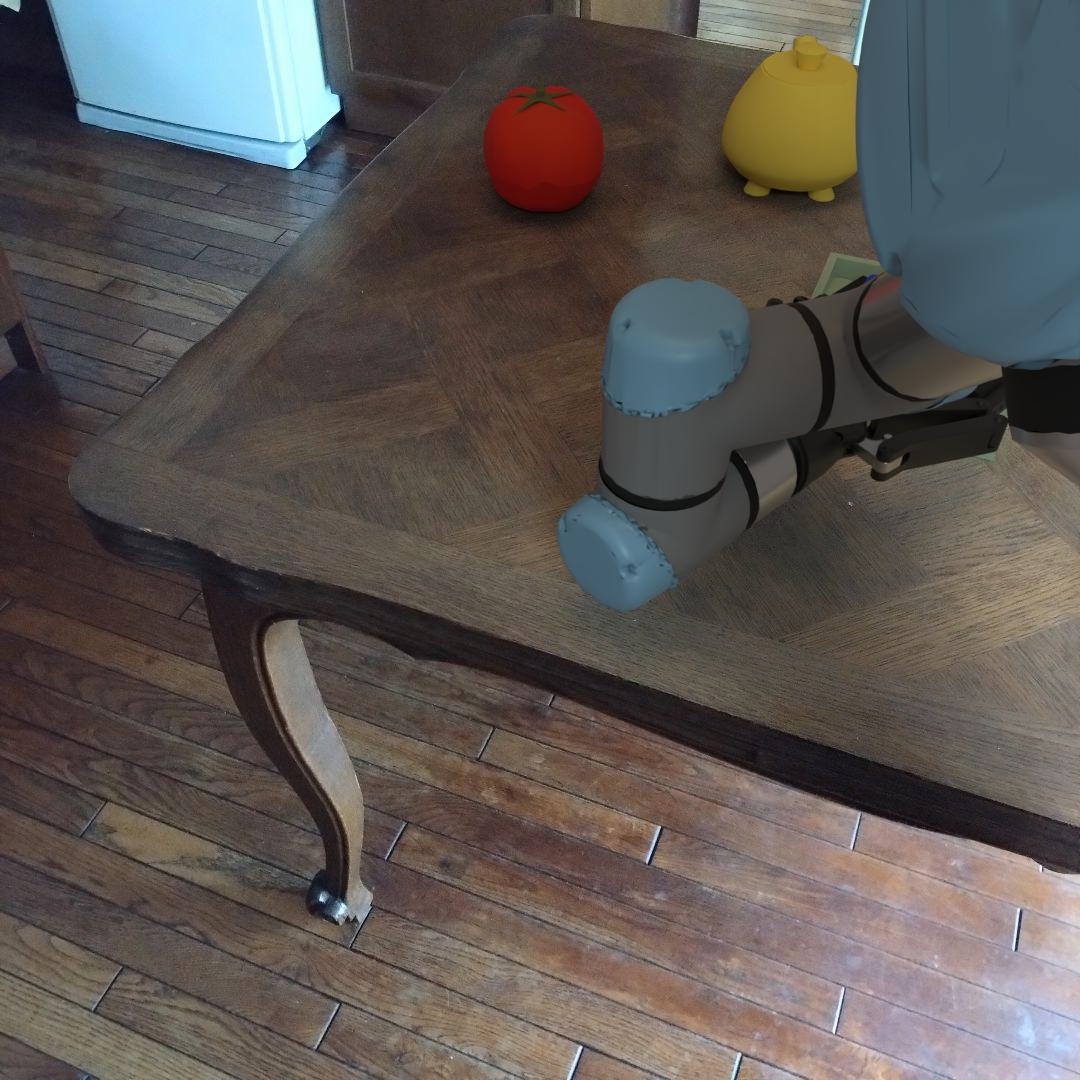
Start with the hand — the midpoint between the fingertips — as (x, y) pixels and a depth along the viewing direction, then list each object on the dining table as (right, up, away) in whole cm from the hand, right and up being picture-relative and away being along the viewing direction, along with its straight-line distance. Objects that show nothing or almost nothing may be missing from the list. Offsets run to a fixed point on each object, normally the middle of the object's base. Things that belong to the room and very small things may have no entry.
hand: (938, 328), depth 80 cm
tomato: (-30, +19, +31) cm, 47 cm away
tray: (+1, 0, +11) cm, 11 cm away
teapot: (-3, +25, +36) cm, 43 cm away
